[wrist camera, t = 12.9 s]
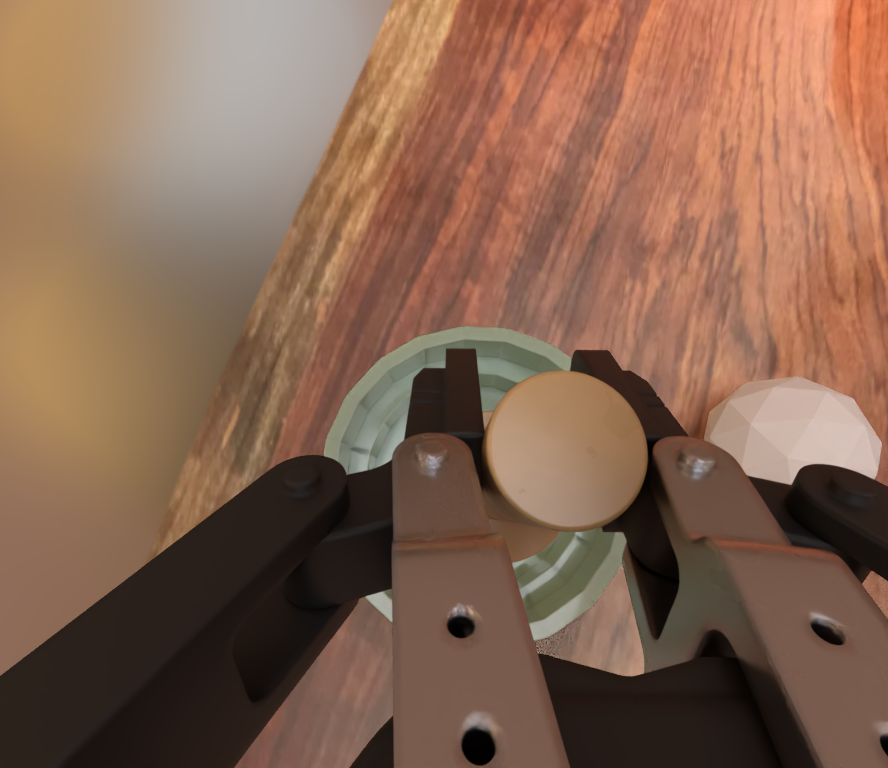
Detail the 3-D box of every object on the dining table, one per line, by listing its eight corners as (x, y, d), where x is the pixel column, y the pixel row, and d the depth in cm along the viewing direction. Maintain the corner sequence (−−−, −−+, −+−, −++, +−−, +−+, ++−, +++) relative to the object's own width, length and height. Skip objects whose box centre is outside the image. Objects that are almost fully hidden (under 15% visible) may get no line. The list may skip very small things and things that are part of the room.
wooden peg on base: (398, 495, 18) (317, 469, 7) (482, 395, 19) (532, 228, 8) (504, 588, 17) (614, 740, 6) (586, 478, 18) (813, 424, 7)
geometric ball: (699, 484, 31) (682, 511, 24) (722, 367, 30) (712, 363, 24) (845, 523, 27) (873, 568, 20) (877, 388, 26) (918, 389, 19)
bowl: (293, 497, 28) (254, 494, 22) (454, 316, 31) (457, 273, 26) (493, 682, 25) (507, 733, 20) (647, 464, 29) (698, 453, 23)
